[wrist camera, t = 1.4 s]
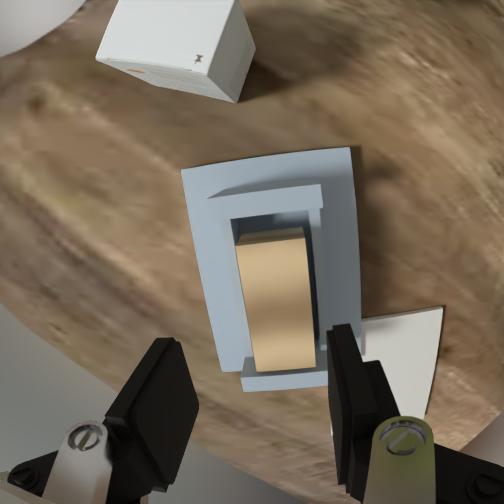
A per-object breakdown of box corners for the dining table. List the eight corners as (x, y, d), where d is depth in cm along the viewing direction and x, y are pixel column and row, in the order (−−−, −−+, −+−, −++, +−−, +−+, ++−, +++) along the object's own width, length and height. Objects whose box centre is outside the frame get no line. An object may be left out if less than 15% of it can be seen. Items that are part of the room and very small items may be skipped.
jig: (185, 169, 27) (151, 174, 20) (346, 147, 26) (369, 144, 18) (224, 365, 33) (209, 413, 26) (358, 352, 31) (373, 400, 24)
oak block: (242, 233, 24) (235, 246, 21) (302, 226, 24) (304, 238, 20) (260, 347, 27) (256, 371, 24) (312, 342, 26) (315, 366, 23)
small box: (257, 48, 24) (241, -6, 14) (237, 105, 26) (209, 76, 15) (173, 32, 24) (123, -15, 14) (153, 86, 26) (92, 59, 15)
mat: (440, 305, 29) (443, 308, 28) (422, 415, 33) (423, 419, 32) (328, 323, 30) (329, 326, 30) (330, 432, 34) (331, 435, 34)
